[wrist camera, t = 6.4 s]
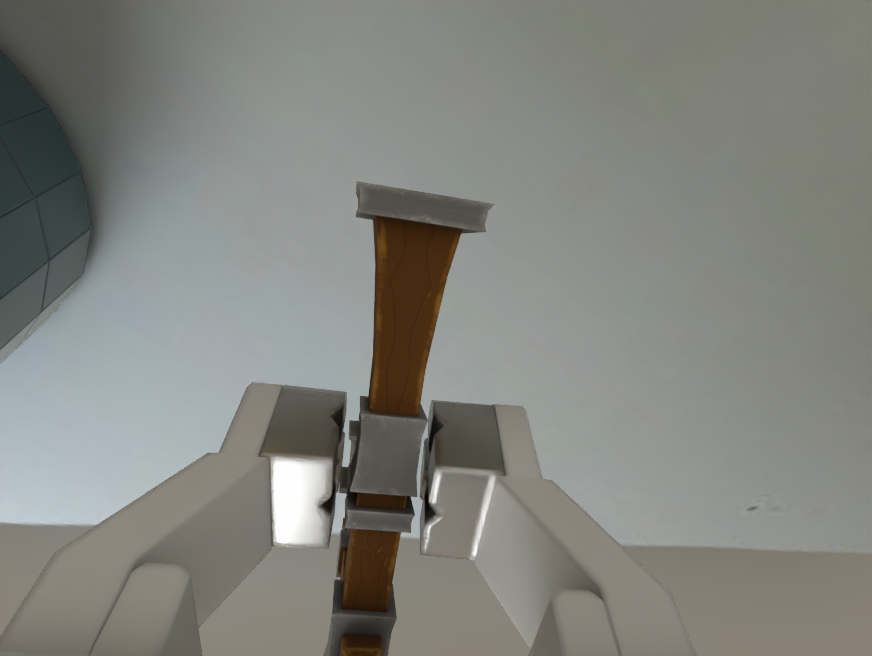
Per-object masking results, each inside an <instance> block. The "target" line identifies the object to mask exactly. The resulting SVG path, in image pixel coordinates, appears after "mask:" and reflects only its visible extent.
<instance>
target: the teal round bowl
mask: <svg viewBox="0 0 872 656" xmlns="http://www.w3.org/2000/svg"><path fill="white" fill-rule="evenodd" d="M80 170H81V168H80V166H79V164H78V162H77V160H76V158H75V156H74V154H73V152H72V150H71V148H70V146H69V144H68V142H67V140H66V138H65V136H64V134H63V132H62V130H61V128H60V126H59V124H58V122H57V120H56V118H55V116H54V114H53V112H52V110H51V109H50V108H49V106H48V105H47V103H46V102H45V101H44V100H43V99H42V98H41V96H40V95H39V94H38V93H37V92H36V91H35V89H34V88H33V87H32V86H31V85H30V84H29V82H28V81H27V80H26V79H25V78H24V77H23V75H22V74H21V73H20V72H19V71H18V70H17V69H16V67H15V66H14V65H13V64H12V63H11V62H10V60H9V59H8V58H7V57H6V56H5V55H4V53H3V52H2V51H1V50H0V364H1V363H2V362H3V361H4V360H5V359H6V358H7V357H8V356H9V355H10V354H12V353H13V352H14V350H15V349H17V348H18V347H19V346H20V345H21V344H22V343H23V342H24V341H25V340H26V339H27V338H28V337H29V336H30V335H32V334H33V333H34V332H35V331H36V330H37V329H38V328H39V327H40V326H41V325H42V324H43V323H44V322H45V321H46V320H47V319H48V318H50V317H51V316H52V315H53V314H54V313H55V312H56V311H57V310H58V309H59V307H60V306H61V305H62V303H63V302H64V300H65V299H66V298H67V296H68V295H69V293H70V292H71V291H72V289H73V288H74V286H75V285H76V284H77V282H78V281H79V279H80V278H81V277H82V274H83V270H84V265H85V260H86V254H87V249H88V244H89V239H90V233H91V227H90V226H91V222H90V217H89V211H88V206H87V200H86V195H85V189H84V183H83V178H82V173H81V171H80Z"/></svg>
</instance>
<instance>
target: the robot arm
mask: <svg viewBox="0 0 872 656" xmlns="http://www.w3.org/2000/svg"><path fill="white" fill-rule="evenodd" d="M346 402H347V392H342V391H333V390H324V389H315V388H306V387H297V386H288V385H285V386H282V385H276V384H266V383H256V382H252V383H251V384H250V385H249V386H248V387H247V388H246V390H245V393H244V395H243V397H242V400H241V402H240V404H239V407H238V409H237V411H236V414H235V416H234V418H233V421H232V423H231V425H230V428H229V430H228V432H227V434H226V437H225V439H224V441H223V444H222V446H221V448H220V451H219V453H207V454H205V455H204V456H202V457H201V458H199V459H198V460H196V461H195V462H193V463H192V464H190V465H189V466H187V467H185V468H184V469H182V470H181V471H179V472H178V473H176V474H175V475H173V476H172V477H170V478H168V479H167V480H165V481H164V482H162V483H161V484H159V485H158V486H156V487H155V488H153V489H152V490H150V491H148V492H147V493H145V494H144V495H142V496H141V497H139V498H138V499H136V500H135V501H133V502H132V503H130V504H128V505H127V506H125V507H124V508H122V509H121V510H119V511H118V512H116V513H115V514H113V515H112V516H110V517H108V518H107V519H105V520H104V521H102V522H101V523H99V524H98V525H96V526H95V527H93V528H92V529H90V530H88V531H87V532H85V533H84V534H82V535H81V536H79V537H78V538H76V539H75V540H73V541H72V542H70V543H68V544H67V545H66V546H64V547H62V548H61V549H59V550H58V551H56V552H55V553H54V554H53V555H52V557H51V559H50V560H49V562H48V563H47V565H46V566H45V568H44V569H43V571H42V573H41V574H40V576H39V577H38V579H37V580H36V582H35V583H34V585H33V587H32V588H31V590H30V591H29V593H28V595H27V596H26V597H25V599H24V600H23V602H22V604H21V605H20V607H19V608H18V610H17V611H16V613H15V614H14V616H13V618H12V619H11V621H10V622H9V624H8V626H7V627H6V628H5V630H4V632H3V633H2V635H1V636H0V656H202V650H201V644H200V636H199V629H198V628H199V627H200V626H201V625H202V624H203V622H204V621H205V620H206V619H207V618H208V617H209V616H210V615H211V614H212V613H213V612H214V611H215V610H216V608H217V607H218V606H219V605H220V604H221V603H222V602H223V601H224V600H225V599H226V598H227V597H228V596H229V594H231V592H232V591H233V590H234V589H235V588H236V587H237V586H238V585H239V584H240V583H241V582H242V581H243V580H244V579H245V578H246V577H247V575H248V574H249V573H250V572H251V571H252V570H253V569H254V568H255V567H256V566H257V565H258V564H259V562H260V561H261V560H262V559H263V558H264V557H265V556H266V555H267V554H268V553H269V552H270V551H271V547H298V548H323V549H328V548H329V542H330V536H331V531H332V525H333V519H334V513H335V498H336V492H337V491H338V489H339V482H340V476H341V468H342V460H343V450H344V437H345V433H344V432H343V428H344V422H345V416H346ZM420 498H421V499H422V500H423V503H422V510H421V516H420V555H426V556H437V557H447V558H458V559H468V560H474V564H475V565H476V567H477V568H478V570H479V571H480V573H481V574H482V576H483V578H484V579H485V580H486V582H487V583H488V585H489V587H490V588H491V590H492V591H493V593H494V594H495V596H496V597H497V599H498V600H499V602H500V603H501V605H502V606H503V608H504V610H505V611H506V613H507V614H508V616H509V617H510V619H511V620H512V622H513V623H514V625H515V626H516V628H517V630H518V631H519V633H520V634H521V635H522V637H523V639H524V640H525V642H526V643H527V645H528V646H529V648H530V649H531V650H530V653H529V655H528V656H696V653H695V650H694V648H693V646H692V643H691V641H690V638H689V636H688V633H687V630H686V628H685V626H684V623H683V621H682V618H681V616H680V613H679V611H678V608H677V606H676V603H675V601H674V598H673V596H672V594H671V592H669V591H668V590H667V589H666V588H665V587H664V586H663V585H662V584H661V583H660V582H659V581H658V580H657V579H656V578H655V577H654V576H653V575H652V574H651V573H649V572H648V571H647V570H646V569H645V568H644V567H643V566H642V565H641V564H640V563H639V562H638V561H637V560H636V559H635V558H634V557H633V556H631V555H630V554H629V553H628V552H627V551H626V550H625V549H624V548H623V547H622V546H621V545H620V544H619V543H618V542H617V541H616V540H615V539H614V538H612V537H611V536H610V535H609V534H608V533H607V532H606V531H605V530H604V529H603V528H602V527H601V526H600V525H599V524H598V523H597V522H596V521H595V520H593V519H592V518H591V517H590V516H589V515H588V514H587V513H586V512H585V511H584V510H583V509H582V508H581V507H580V506H579V505H578V504H577V503H576V502H574V501H573V500H572V499H571V498H570V497H569V496H568V495H567V494H566V493H565V492H564V491H563V490H562V489H561V488H560V487H559V486H558V485H556V484H555V483H554V482H553V481H552V480H546V479H542V475H541V471H540V467H539V463H538V458H537V454H536V450H535V446H534V442H533V438H532V434H531V430H530V426H529V422H528V418H527V413H526V410H525V409H524V408H523V407H522V406H511V405H495V404H492V405H484V404H472V403H460V402H448V401H437V400H432V401H431V405H430V410H429V416H428V438H426V439H425V441H424V448H423V456H422V465H421V479H420Z"/></svg>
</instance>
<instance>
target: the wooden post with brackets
mask: <svg viewBox="0 0 872 656" xmlns="http://www.w3.org/2000/svg"><path fill="white" fill-rule="evenodd" d="M356 195H357V198H358V210H357V213H356V217H359V218H365V219H372V220H373V225H374V244H375V264H376V266H375V302H374V339H373V359H372V369H371V378H370V387H369V396H368V397H366V396H360V413H359V421H351V420H350V422H349V440H351V452H350V463H349V466H348V467H342V468H341V476H340V486H339V493H346V494H347V496H346V499H345V518H343V525H342V530H341V533H340V541H339V549H338V556H337V574H336V577H341V579H340V580H335V581H334V597H333V611H332V618H331V625H330V631H329V639H328V643H327V646H326V649H325V652H324V655H323V656H388V650H389V643H390V638H391V632H392V629H393V626H394V624H395V621H396V618H397V617H396V609H395V600H394V592H393V584H392V579H393V574H394V568H395V563H396V557H397V551H398V546H399V540H400V534H401V532H409V533H411V521H412V518H413V517H414V516H415V514H414V510H413V505H412V501H411V497H417V481H416V475H417V468H418V460H419V453H420V446H421V439H422V435H423V433H424V430H425V427H426V424H427V421H428V420H427V418H426V415H425V413H424V411H423V408H422V406H421V404H420V401H421V394H422V388H423V381H424V375H425V369H426V364H427V360H428V356H429V352H430V347H431V343H432V339H433V335H434V331H435V326H436V322H437V318H438V314H439V309H440V305H441V301H442V297H443V292H444V288H445V284H446V280H447V276H448V273H449V270H450V267H451V263H452V260H453V257H454V254H455V251H456V248H457V245H458V242H459V238H460V235H461V233H475V232H486V230H485V221H486V217H487V214H488V211H489V210H490V209H491V207H492V206H493V205H494V204H491V203H485V202H479V201H472V200H466V199H460V198H454V197H448V196H442V195H436V194H430V193H424V192H418V191H412V190H406V189H400V188H394V187H387V186H381V185H375V184H369V183H363V182H357V186H356ZM410 496H411V497H410Z"/></svg>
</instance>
